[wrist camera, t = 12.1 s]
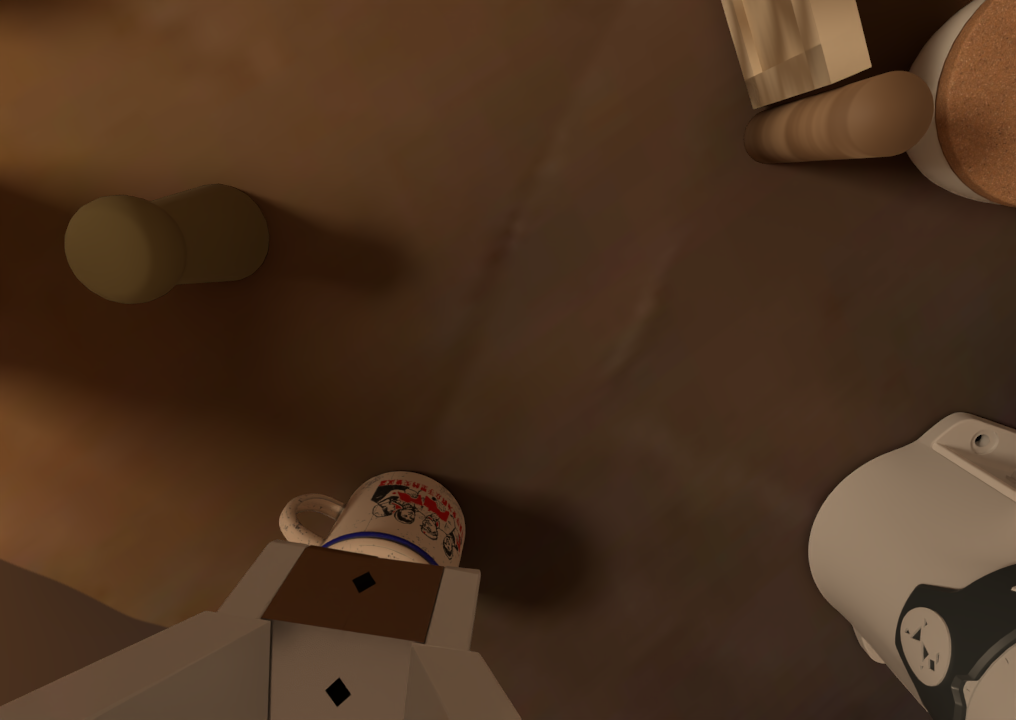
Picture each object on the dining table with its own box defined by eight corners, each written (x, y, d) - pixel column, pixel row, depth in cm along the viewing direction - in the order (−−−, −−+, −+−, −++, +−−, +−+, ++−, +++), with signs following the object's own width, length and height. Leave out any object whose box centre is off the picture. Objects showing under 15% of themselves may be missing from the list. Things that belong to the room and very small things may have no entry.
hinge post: (803, 111, 35) (945, 76, 23) (789, 167, 36) (918, 161, 24) (750, 104, 35) (863, 65, 23) (738, 159, 36) (840, 150, 24)
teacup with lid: (494, 509, 44) (476, 624, 32) (427, 600, 46) (390, 735, 35) (345, 419, 42) (274, 506, 31) (285, 516, 45) (198, 630, 33)
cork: (155, 218, 39) (11, 234, 29) (227, 163, 38) (105, 158, 27) (216, 298, 40) (100, 342, 30) (288, 248, 39) (194, 275, 29)
